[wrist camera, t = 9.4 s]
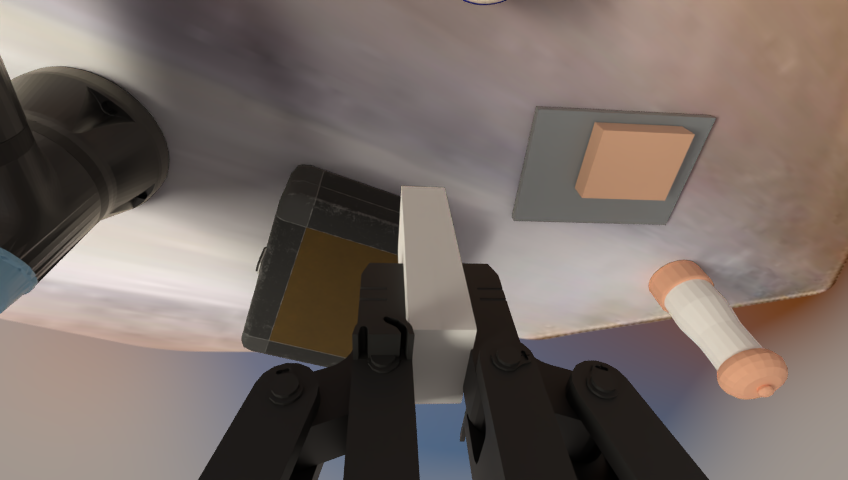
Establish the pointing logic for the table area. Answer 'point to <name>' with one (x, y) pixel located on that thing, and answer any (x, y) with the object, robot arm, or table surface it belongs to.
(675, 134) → the tile
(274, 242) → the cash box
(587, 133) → the slate board
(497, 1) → the teacup with lid
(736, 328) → the salt shaker
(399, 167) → the table surface
